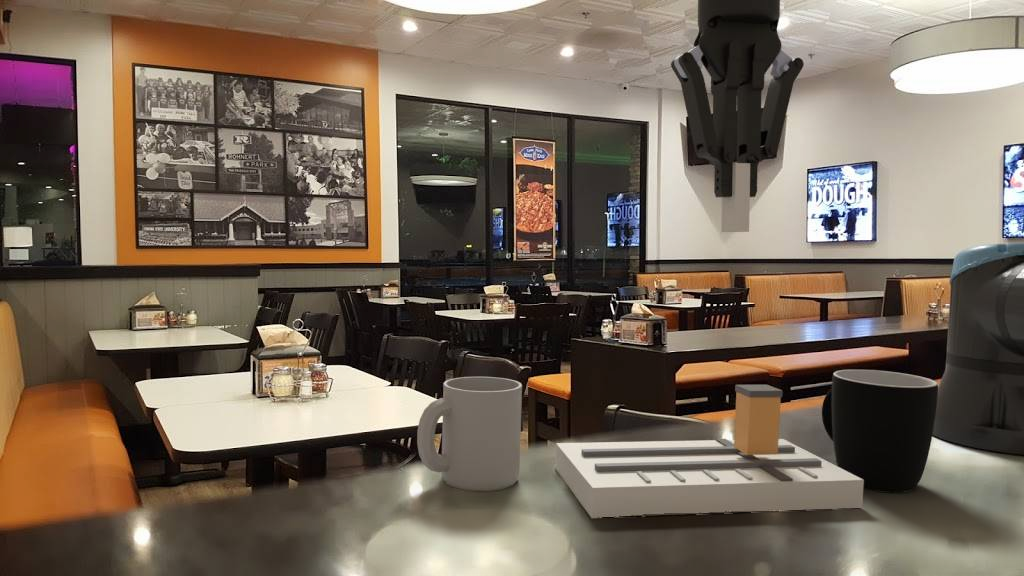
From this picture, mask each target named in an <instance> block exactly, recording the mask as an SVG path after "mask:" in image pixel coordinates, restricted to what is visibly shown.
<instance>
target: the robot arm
mask: <svg viewBox="0 0 1024 576" xmlns="http://www.w3.org/2000/svg"><path fill="white" fill-rule="evenodd" d="M780 3H781V0H697V26H698V33H697V36H696V37H695V40H694V42H693V48H692V49H690V50H688V51H686V52H683V53H682V54H680V55H679V56H677V57H675V58H673V59H672V60H671V62H670V67H671V69H672V70H673V72H674V74H675V77H676V78H677V79H678V81H679V83H680V85H681V86H680V87H681V91H682V96H683V100H684V104H685V105H684V106H685V109H686V113H687V114H686V116H687V118H688V123H689V128H690V129H689V130H690V133H691V138H692V143H693V148H694V152H695V155H696V157H697V158H698V159H705V160H708V163H709V164H710V165H711V166H714V168H713V169H714V177H713V178H714V184H713V185H714V188H713V192H714V196H715V198H721V229H720V230H721V233H749V232H750V209H751V208H750V202H751V201H750V200H751V199H750V198H755V197H756V196H757V192H758V166H759V163H761V162H762V161H764V160H766V159H768V158H771V157H774V156H776V155H777V153H778V150H779V146H780V142H781V137H782V133H783V130H784V124H785V121H786V116H787V114H788V113H787V112H788V107H789V103H790V100H791V99H790V98H791V95H792V91H793V87H794V83H795V81H796V79H797V77H799V76H798V75H799V74H800V73H801V71H802V69H803V68H804V65H805V64H804V60H803V59H802V58H801V57H795V58H792V57H790V56H789V55H788V54H786V52H784V51H783V50H782V41H781V38H780V37H779V33H778V26H779V20H780V18H781V15H780V14H781V4H780ZM771 66H772V68H771V70H770V75H771V79H770V82H769V85H768V86H767V87H768V88H767V92H766V96H765V99H764V100H765V101H764V105H763V109H762V92H763V89H764V88H765V75H766V73H767V71H768V70H769V69H770V67H771ZM703 67H704V68H705V70H706V71H707V73H708V74H709V77H710V93H711V95H712V109H711V106H710V105H711V104H710V101H709V96H708V92H707V90H708V89H707V86H706V82H705V78H704V75H703V72H702V69H703ZM711 110H712V111H711ZM735 159H736V163H735V162H734V161H735ZM951 269H952V270H951V274H950V278H949V285H950V293H949V295H950V296H949V308H948V326H947V327H948V328H947V339H946V340H947V342H946V357H945V358H946V359H945V369H944V372H943V375H942V376H941V379H940V382H939V384H938V397H937V407H936V415H935V422H934V428H933V434H932V436H935V437H937V438H939V439H942V440H944V441H948V442H951V443H955V444H958V445H961V446H966V447H970V448H975V449H979V450H986V451H991V452H999V453H1006V454H1014V455H1021V456H1022V455H1023V456H1024V242H1008V243H993V244H991V243H990V244H984V245H977V246H971V247H968V248H965V249H963V250H961V251H960V252H958V253H957V254H956V255H955V257H954V258H953V263H952V268H951Z"/></svg>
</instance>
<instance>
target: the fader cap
mask: <svg viewBox="0 0 1024 576" xmlns="http://www.w3.org/2000/svg"><path fill="white" fill-rule="evenodd" d="M734 387H735V388H734V391H735V392H736V393H735V394H736V397H735V415H734V416H735V419H734V434H733V435H734V437H733V438H734V439H733V440H734V447H735V448H736V449H738V450H740V451H741V452H743V453H745V454H746V455H769V454H778V440H779V439H780V421H781V419H780V416H781V401H782V400H781V398H783V393H784V392H783V390H782V389H780V388H777V387H774V386H771V385H769V384H735V385H734Z"/></svg>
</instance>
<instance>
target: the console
mask: <svg viewBox="0 0 1024 576" xmlns="http://www.w3.org/2000/svg"><path fill="white" fill-rule="evenodd" d="M554 464H555V468H554V469H555V470H556V472H557V473H558V474H559V476H560V477H561V478H562V479H563V481H564V482H565V484H566V485H567V487H568V488H569V490H571V492H572V493H573V495H574V496H575V497H576V498H575V499H577V500H578V502H579V503H580V504H581V506H582V507H583V508H584V510H585V511H586V512H587V514H588V515H589V517H590V518H591V519H603V518H602V517H614V518H620V517H619V516H631V515H634V516H635V515H643V514H664V513H700V512H701V513H709V512H725V511H727V512H728V511H729V512H731V511H746V510H747V511H753V510H754V511H774V510H775V511H779V510H780V511H779V512H789V511H788V510H801V509H802V510H803V509H832V508H833V510H837V509H836V508H861V509H863V500H864V499H863V497H864V488H863V484H864V480H863V479H861V478H859V477H857V476H855V475H853V474H851V473H849V472H847V471H845V470H843V469H841V468H839V467H838V466H837V465H835V464H833V463H831V462H830V461H827V460H825V459H824V458H822V457H820V456H817V455H815V454H814V453H811V452H810V451H807V450H806V449H804V448H801V447H800V446H798V445H796V444H794V443H793V442H790V441H788V440H786V439H784V438H779V440H778V454H769V455H746V454H745V453H743V452H741V451H740V450H738V449H736V448H735V447H734V439H727V438H716V439H712V440H710V439H706V440H703V439H702V440H662V441H661V440H654V441H653V440H652V441H649V440H648V441H609V442H608V441H605V442H601V441H600V442H599V441H598V442H594V441H593V442H556V443H555V463H554ZM834 508H835V509H834ZM781 510H782V511H781ZM783 510H785V511H783ZM786 510H787V511H786ZM615 516H616V517H615ZM598 517H599V518H598Z"/></svg>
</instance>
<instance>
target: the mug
mask: <svg viewBox="0 0 1024 576" xmlns="http://www.w3.org/2000/svg"><path fill="white" fill-rule="evenodd" d="M831 380H832V382H831V389H829V390H828V392H827V393H826V395H825V396H824V399H823V402H822V405H821V420H822V423H823V427H824V429H825V431H826V434H827V436H828V437H829V439H831V441H832V442H833V449H834V457H835V460H836V466H837V467H839V468H841V469H843V470H845V471H847V472H849V473H851V474H853V475H855V476H857V477H859V478H861V479H863V480H864V484H863V489H865V490H870V491H875V492H880V493H881V492H883V493H894V494H895V493H898V494H899V493H908V492H911V491H913V490H914V489H915V488H917V486H918V484H919V483H920V481H921V480H922V478H923V474H924V472H925V468H926V465H927V462H928V457H929V454H930V453H929V452H930V449H931V446H932V445H931V444H932V439H933V435H932V434H933V428H934V422H935V415H936V407H937V397H938V386H939V384H938V383H937V381H935V380H933V379H931V378H927V377H923V376H919V375H914V374H909V373H902V372H896V371H895V372H894V371H887V370H877V369H842V370H836V371H834V372H833V374H832V379H831Z"/></svg>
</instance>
